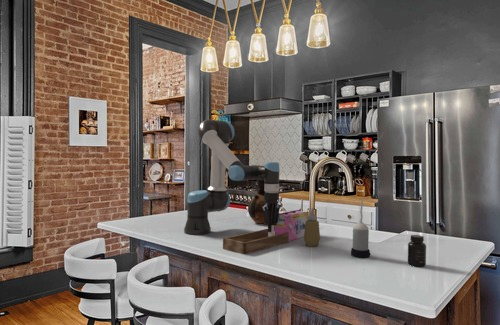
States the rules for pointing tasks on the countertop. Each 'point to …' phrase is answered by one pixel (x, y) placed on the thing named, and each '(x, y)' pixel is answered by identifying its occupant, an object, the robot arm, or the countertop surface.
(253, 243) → the u-shaped wooden frame
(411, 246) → the supplement bottle
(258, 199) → the ceramic vessel
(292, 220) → the gum box
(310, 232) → the squeeze bottle
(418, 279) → the countertop surface
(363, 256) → the grey long nozzle bottle
